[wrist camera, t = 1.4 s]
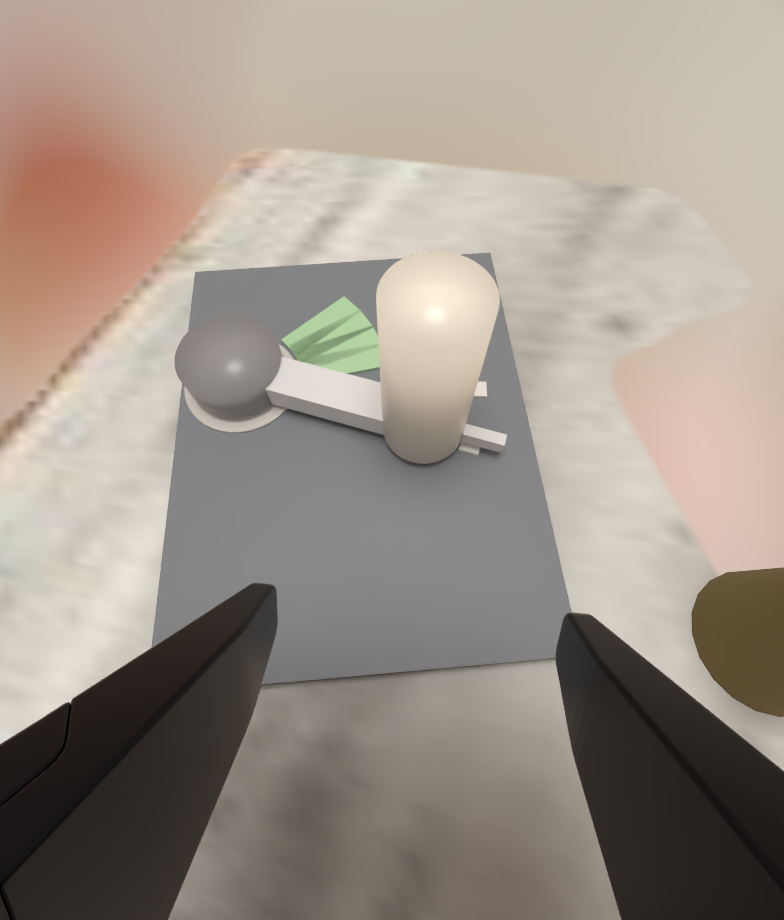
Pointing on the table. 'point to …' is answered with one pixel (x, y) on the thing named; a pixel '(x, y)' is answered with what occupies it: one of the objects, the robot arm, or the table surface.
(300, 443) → the board
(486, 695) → the table surface
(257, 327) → the needle lever
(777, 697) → the olive pawn
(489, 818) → the table surface
